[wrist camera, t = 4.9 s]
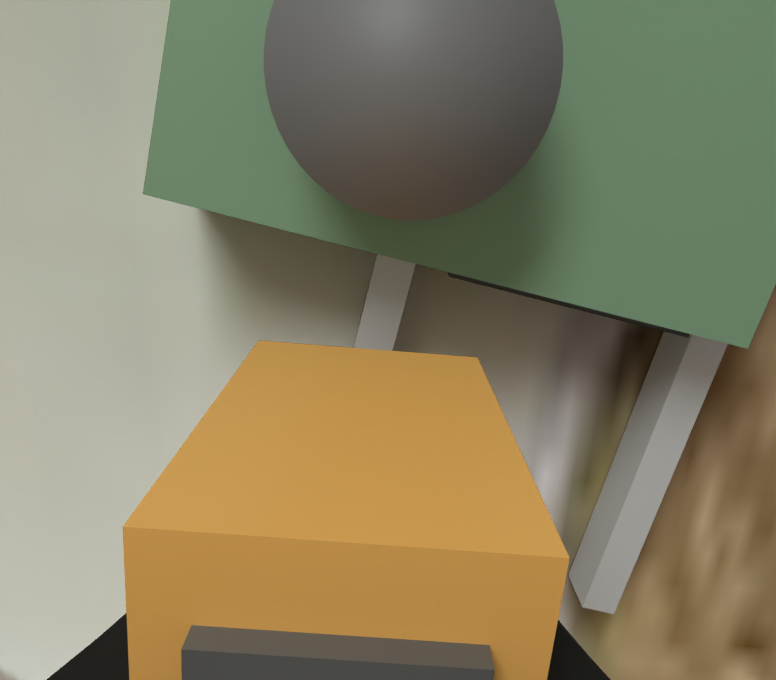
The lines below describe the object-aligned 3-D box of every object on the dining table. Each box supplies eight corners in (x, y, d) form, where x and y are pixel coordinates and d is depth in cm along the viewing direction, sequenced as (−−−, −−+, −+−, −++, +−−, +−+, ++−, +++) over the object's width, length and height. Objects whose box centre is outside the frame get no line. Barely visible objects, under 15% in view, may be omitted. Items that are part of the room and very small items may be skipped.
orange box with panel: (477, 356, 11) (579, 579, 5) (433, 705, 14) (470, 1143, 7) (258, 340, 11) (108, 545, 5) (250, 693, 13) (137, 1128, 7)
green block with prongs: (808, 62, 16) (1049, 3, 10) (597, 581, 20) (681, 750, 14) (240, -103, 15) (146, -273, 9) (144, 479, 19) (37, 615, 13)
